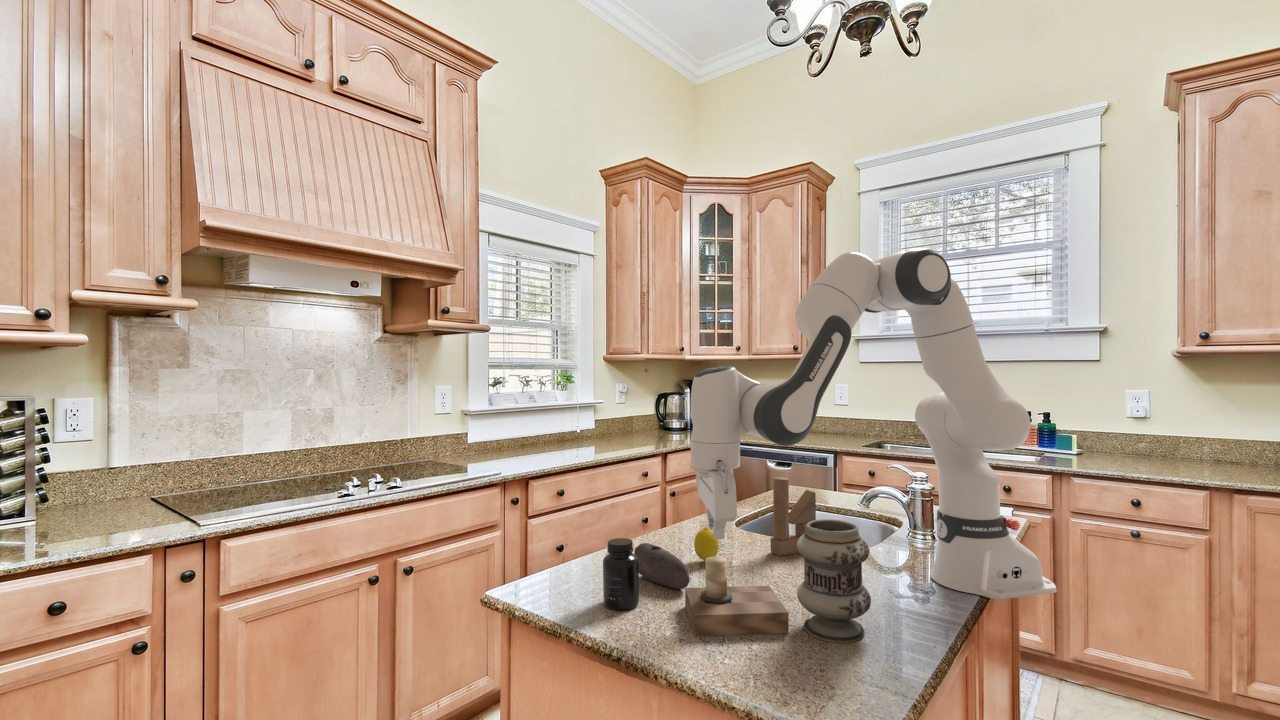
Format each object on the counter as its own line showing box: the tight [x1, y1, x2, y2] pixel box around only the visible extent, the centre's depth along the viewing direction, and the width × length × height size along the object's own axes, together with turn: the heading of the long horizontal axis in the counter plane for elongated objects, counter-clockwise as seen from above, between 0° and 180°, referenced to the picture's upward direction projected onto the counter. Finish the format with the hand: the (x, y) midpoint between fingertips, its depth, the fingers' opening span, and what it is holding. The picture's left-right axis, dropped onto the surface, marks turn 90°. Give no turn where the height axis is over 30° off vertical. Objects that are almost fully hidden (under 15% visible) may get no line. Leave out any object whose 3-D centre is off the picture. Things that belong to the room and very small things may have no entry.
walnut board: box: [684, 585, 790, 637], centre depth 107 cm, size 16×12×4 cm
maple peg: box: [701, 556, 732, 604], centre depth 108 cm, size 6×6×10 cm
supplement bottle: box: [602, 537, 640, 612], centre depth 114 cm, size 7×7×12 cm
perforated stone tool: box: [633, 542, 691, 590], centre depth 124 cm, size 15×5×7 cm, turn 38°
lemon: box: [693, 526, 720, 563], centre depth 137 cm, size 6×6×8 cm
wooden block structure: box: [770, 476, 817, 557], centre depth 144 cm, size 4×11×18 cm, turn 112°
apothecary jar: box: [796, 518, 872, 644], centre depth 102 cm, size 12×12×18 cm
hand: (715, 533), depth 107 cm, fingers open, 4 cm apart
